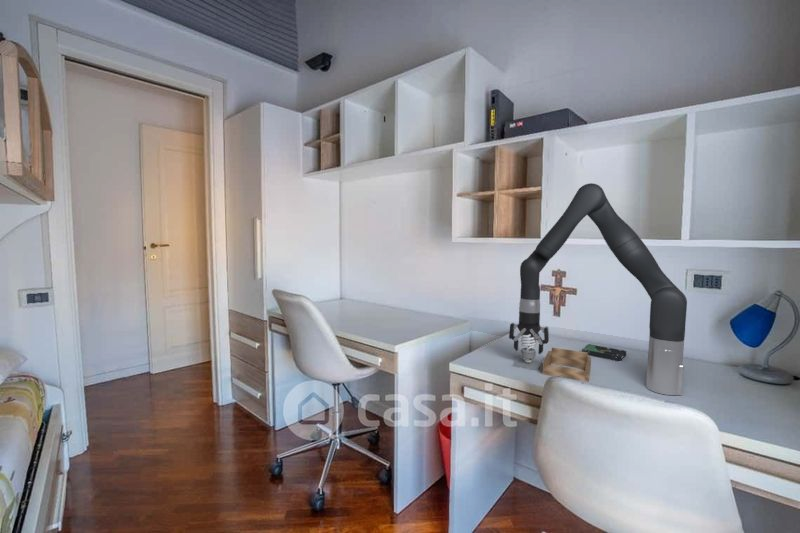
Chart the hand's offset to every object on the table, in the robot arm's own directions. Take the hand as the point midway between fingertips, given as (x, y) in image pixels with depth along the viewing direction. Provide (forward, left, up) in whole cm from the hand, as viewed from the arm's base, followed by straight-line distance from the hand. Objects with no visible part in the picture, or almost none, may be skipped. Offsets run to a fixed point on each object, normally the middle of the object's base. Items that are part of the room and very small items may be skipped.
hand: (528, 351), depth 147 cm
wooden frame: (-14, 0, -5) cm, 15 cm away
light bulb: (0, 0, -5) cm, 5 cm away
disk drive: (-26, -29, -6) cm, 39 cm away
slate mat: (0, 0, -5) cm, 5 cm away
